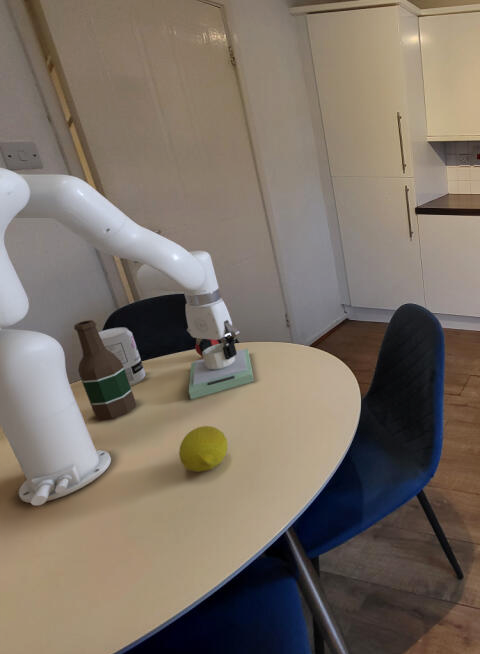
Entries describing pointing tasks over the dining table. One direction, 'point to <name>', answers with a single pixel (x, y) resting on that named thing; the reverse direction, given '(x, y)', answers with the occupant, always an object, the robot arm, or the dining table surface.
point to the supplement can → (124, 352)
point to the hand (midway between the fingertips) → (219, 355)
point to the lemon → (203, 449)
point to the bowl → (216, 357)
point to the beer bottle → (103, 375)
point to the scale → (220, 376)
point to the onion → (199, 347)
